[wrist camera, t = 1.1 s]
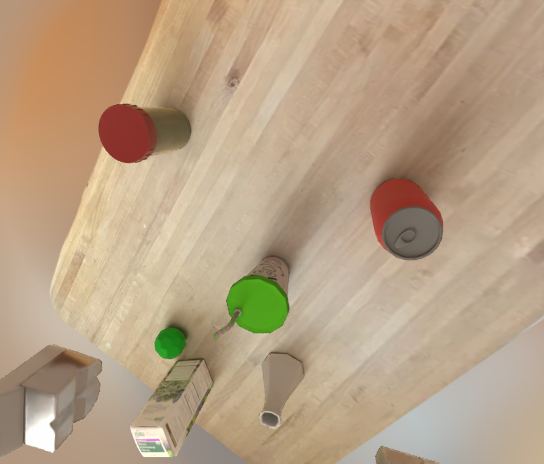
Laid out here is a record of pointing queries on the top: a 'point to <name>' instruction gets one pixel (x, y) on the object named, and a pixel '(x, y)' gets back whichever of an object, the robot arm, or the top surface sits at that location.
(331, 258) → the top surface
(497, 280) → the top surface
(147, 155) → the lid
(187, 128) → the jar
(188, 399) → the syrup box
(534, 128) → the top surface
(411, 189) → the beer can
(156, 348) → the polyhedron
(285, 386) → the flask
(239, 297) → the cup
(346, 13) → the top surface
